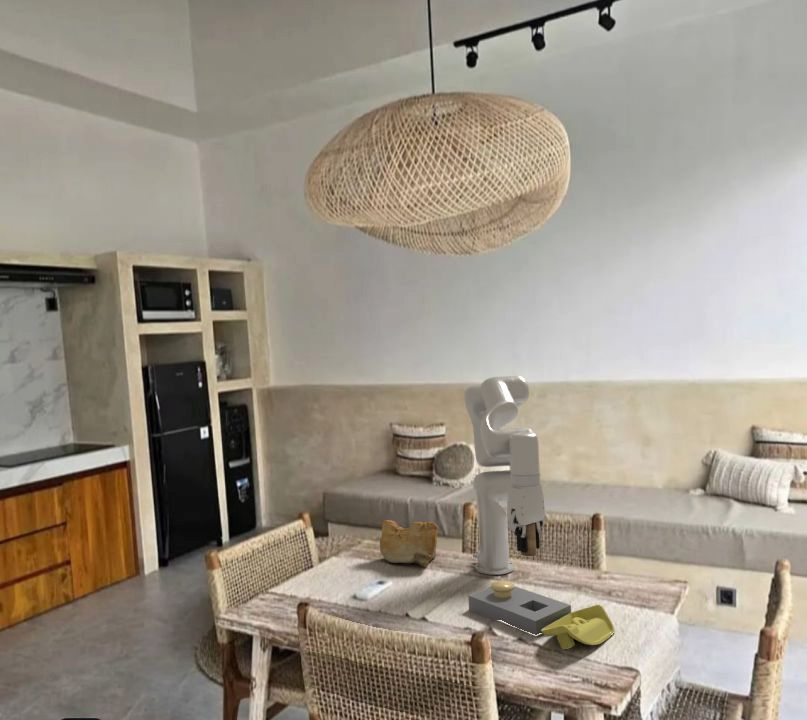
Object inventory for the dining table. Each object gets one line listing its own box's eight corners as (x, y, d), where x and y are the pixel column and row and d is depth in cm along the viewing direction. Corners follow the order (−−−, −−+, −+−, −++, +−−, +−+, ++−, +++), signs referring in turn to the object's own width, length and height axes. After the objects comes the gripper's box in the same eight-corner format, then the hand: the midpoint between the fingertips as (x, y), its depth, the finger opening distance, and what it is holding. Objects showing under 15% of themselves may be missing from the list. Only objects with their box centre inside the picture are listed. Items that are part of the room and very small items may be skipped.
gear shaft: (517, 553, 175) (516, 523, 175) (528, 550, 178) (526, 520, 178) (529, 557, 172) (528, 526, 172) (539, 553, 175) (538, 523, 174)
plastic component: (572, 611, 175) (604, 602, 169) (583, 640, 172) (617, 632, 167) (533, 633, 160) (567, 623, 154) (546, 665, 158) (581, 656, 152)
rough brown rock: (459, 562, 228) (458, 517, 229) (430, 572, 215) (428, 525, 216) (406, 553, 243) (405, 511, 244) (375, 562, 230) (375, 518, 231)
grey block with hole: (468, 609, 185) (467, 585, 185) (503, 595, 194) (502, 572, 193) (536, 636, 166) (534, 609, 166) (571, 620, 175) (570, 594, 175)
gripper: (535, 473, 183) (538, 539, 183) (492, 483, 172) (495, 553, 173) (557, 476, 177) (560, 545, 177) (513, 487, 166) (517, 560, 167)
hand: (528, 548), depth 175 cm, fingers closed on gear shaft, 4 cm apart
